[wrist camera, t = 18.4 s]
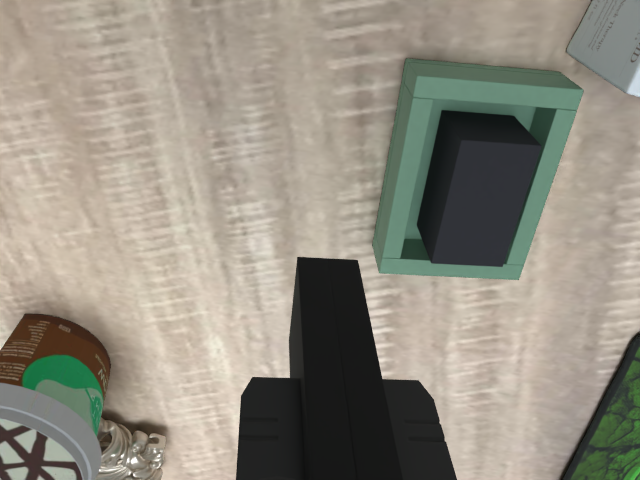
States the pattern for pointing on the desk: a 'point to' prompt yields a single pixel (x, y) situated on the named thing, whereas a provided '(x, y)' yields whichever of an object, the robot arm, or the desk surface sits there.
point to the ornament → (129, 453)
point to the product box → (611, 42)
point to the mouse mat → (614, 429)
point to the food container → (51, 400)
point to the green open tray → (418, 141)
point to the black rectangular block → (475, 187)
